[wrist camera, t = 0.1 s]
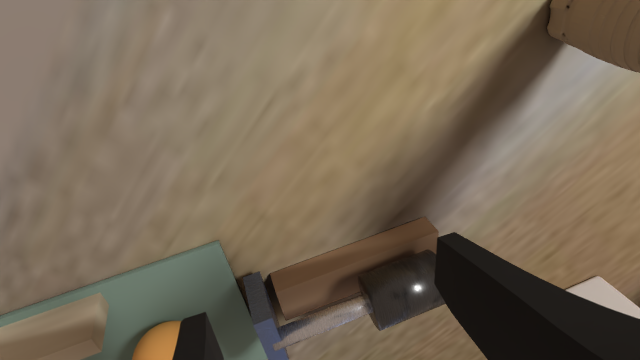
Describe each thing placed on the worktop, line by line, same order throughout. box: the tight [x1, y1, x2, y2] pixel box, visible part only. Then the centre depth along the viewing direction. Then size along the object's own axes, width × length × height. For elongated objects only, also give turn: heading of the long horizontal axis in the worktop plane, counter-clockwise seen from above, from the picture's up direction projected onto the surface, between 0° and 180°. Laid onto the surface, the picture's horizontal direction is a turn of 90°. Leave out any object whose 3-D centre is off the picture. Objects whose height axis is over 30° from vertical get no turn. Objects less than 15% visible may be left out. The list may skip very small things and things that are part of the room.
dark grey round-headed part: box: [243, 249, 446, 360], centre depth 23 cm, size 11×5×5 cm, turn 101°
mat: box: [0, 240, 268, 360], centre depth 24 cm, size 11×14×1 cm
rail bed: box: [270, 217, 438, 321], centre depth 25 cm, size 3×10×2 cm, turn 101°
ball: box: [132, 321, 182, 360], centre depth 22 cm, size 4×4×4 cm
